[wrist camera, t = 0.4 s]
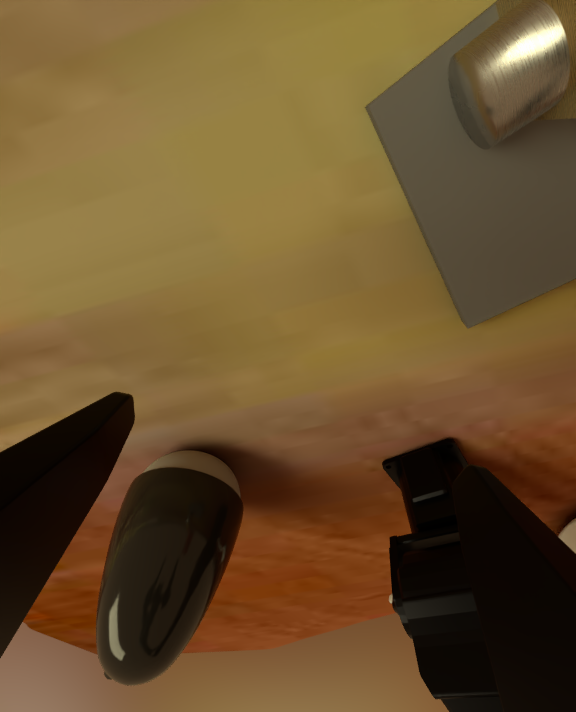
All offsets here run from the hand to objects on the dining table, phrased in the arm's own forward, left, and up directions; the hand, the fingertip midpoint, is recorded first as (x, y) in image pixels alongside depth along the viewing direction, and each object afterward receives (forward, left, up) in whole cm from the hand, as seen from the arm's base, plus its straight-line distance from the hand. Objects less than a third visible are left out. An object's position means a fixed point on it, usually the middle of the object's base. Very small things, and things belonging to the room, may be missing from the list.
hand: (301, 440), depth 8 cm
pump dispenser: (-11, +20, -14) cm, 27 cm away
